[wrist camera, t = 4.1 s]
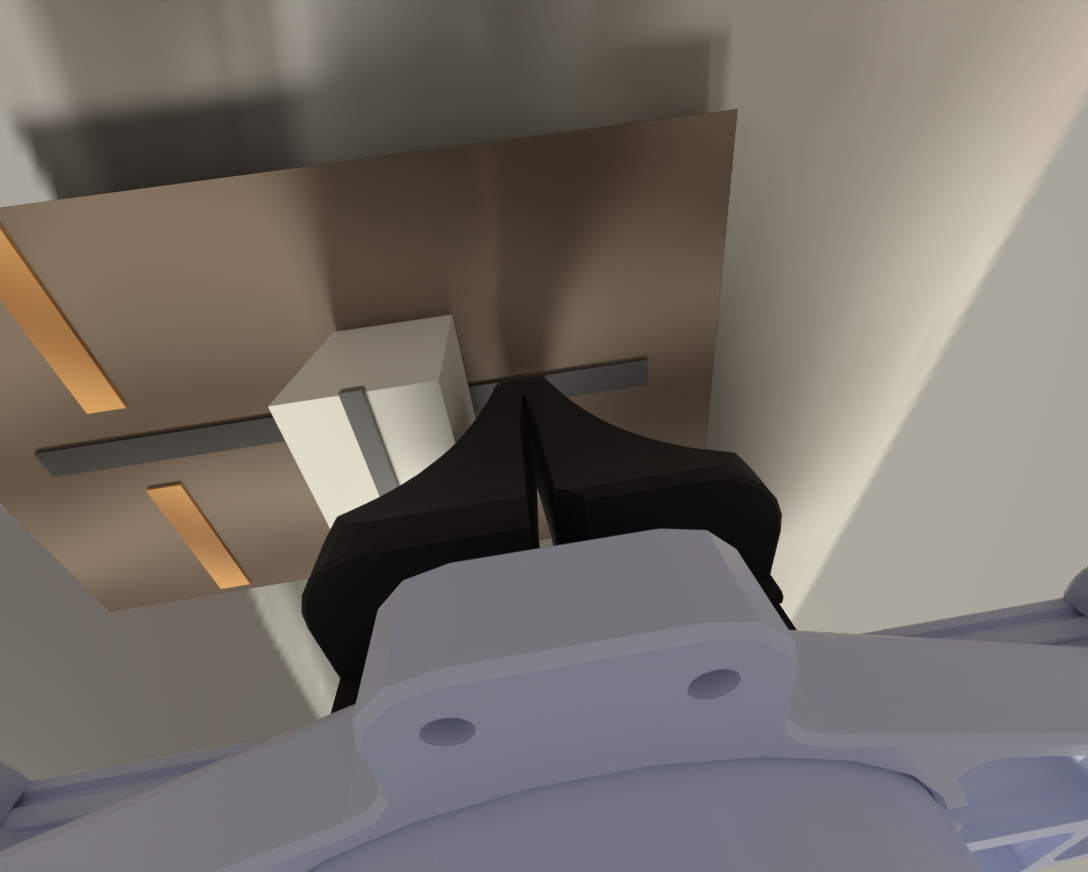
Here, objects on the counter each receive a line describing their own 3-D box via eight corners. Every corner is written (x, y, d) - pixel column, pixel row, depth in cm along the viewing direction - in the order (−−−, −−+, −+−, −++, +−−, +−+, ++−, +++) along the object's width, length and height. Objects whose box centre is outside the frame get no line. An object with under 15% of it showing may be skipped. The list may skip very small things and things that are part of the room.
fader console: (683, 487, 18) (699, 515, 16) (138, 577, 17) (108, 614, 15) (708, 114, 11) (739, 108, 10) (-171, 232, 10) (-269, 243, 9)
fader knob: (488, 473, 14) (489, 578, 11) (393, 489, 14) (361, 600, 10) (450, 310, 11) (436, 379, 8) (331, 327, 11) (261, 405, 8)
